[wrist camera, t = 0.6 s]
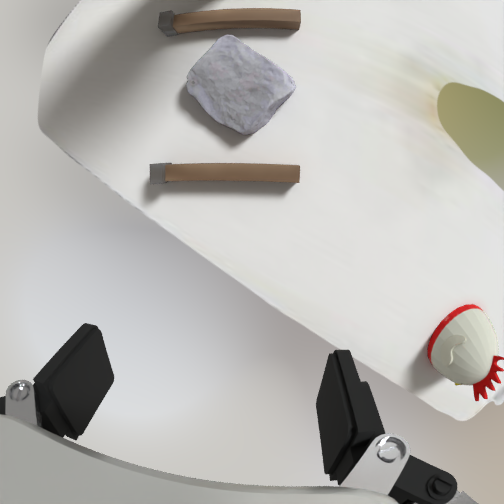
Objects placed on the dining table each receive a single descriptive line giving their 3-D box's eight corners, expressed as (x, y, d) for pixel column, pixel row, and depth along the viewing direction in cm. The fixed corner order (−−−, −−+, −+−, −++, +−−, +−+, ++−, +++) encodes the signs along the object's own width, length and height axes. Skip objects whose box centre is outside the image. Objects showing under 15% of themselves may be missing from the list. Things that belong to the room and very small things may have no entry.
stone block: (252, 142, 35) (302, 86, 31) (243, 145, 31) (300, 80, 26) (186, 92, 34) (231, 36, 29) (170, 89, 30) (219, 26, 25)
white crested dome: (414, 360, 43) (446, 418, 28) (454, 295, 38) (504, 344, 24) (457, 369, 43) (488, 417, 29) (493, 313, 39) (536, 355, 25)
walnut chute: (168, 22, 28) (159, 12, 25) (298, 17, 27) (301, 5, 24) (160, 181, 36) (150, 183, 32) (297, 182, 35) (300, 185, 31)
